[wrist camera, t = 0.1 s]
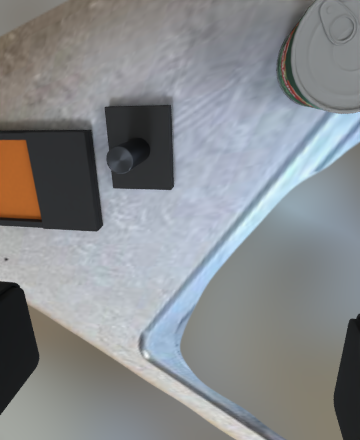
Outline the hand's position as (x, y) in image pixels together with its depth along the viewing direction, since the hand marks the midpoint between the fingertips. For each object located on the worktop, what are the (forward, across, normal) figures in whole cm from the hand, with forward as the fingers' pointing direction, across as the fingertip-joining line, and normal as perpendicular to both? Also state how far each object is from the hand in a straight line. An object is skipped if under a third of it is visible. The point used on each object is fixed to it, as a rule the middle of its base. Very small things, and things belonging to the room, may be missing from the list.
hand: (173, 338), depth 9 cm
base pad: (+28, +24, +3) cm, 37 cm away
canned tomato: (+29, -8, -9) cm, 31 cm away
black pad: (+28, +10, -1) cm, 30 cm away
